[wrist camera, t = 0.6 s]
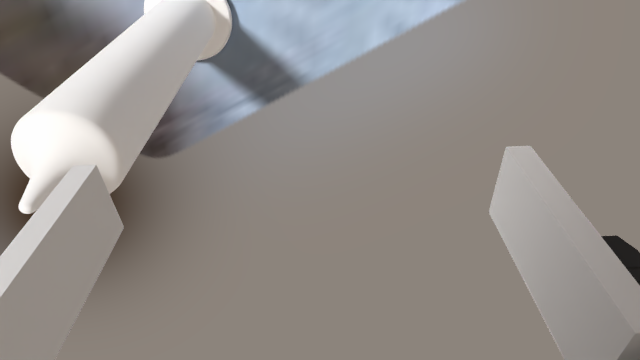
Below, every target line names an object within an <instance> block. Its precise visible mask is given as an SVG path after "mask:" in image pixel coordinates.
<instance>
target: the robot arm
mask: <svg viewBox="0 0 640 360" xmlns="http://www.w3.org/2000/svg"><path fill="white" fill-rule="evenodd" d="M489 214H490V216H491V217H492V220H493V221H494V223H495V225H496V227H497V229H498V231H499V233H500V235H501V237H502V239H503V241H504V243H505V245H506V247H507V249H508V251H509V253H510V255H511V257H512V259H513V261H514V263H515V264H516V266H517V268H518V270H519V272H520V274H521V276H522V278H523V280H524V282H525V284H526V286H527V288H528V290H529V292H530V294H531V296H532V298H533V300H534V302H535V304H536V305H537V307H538V309H539V311H540V313H541V315H542V317H543V319H544V321H545V323H546V325H547V327H548V329H549V331H550V333H551V335H552V337H553V339H554V341H555V343H556V344H557V346H558V348H559V350H560V352H561V354H562V356H563V358H564V360H640V253H639V252H638V250H636V249H635V248H634V247H632V246H631V245H629V244H628V243H626V242H625V241H624V240H622V239H621V238H619V237H618V236H601V235H600V234H599V233H598V232H597V230H596V229H595V228H594V227H593V225H592V224H591V223H590V221H589V220H588V219H587V218H586V216H585V215H584V214H583V212H582V211H581V210H580V209H579V207H578V206H577V205H576V204H575V202H574V201H573V200H572V198H571V197H570V196H569V195H568V193H567V192H566V191H565V189H564V188H563V187H562V186H561V184H560V183H559V182H558V181H557V179H556V178H555V177H554V175H553V174H552V173H551V172H550V170H549V169H548V168H547V166H546V165H545V164H544V163H543V161H542V160H541V159H540V158H539V156H538V155H537V154H536V152H535V151H534V150H533V149H532V147H531V146H514V147H506V149H505V153H504V157H503V160H502V164H501V168H500V172H499V175H498V179H497V183H496V187H495V190H494V194H493V198H492V202H491V205H490V209H489ZM123 228H124V226H123V224H122V222H121V219H120V217H119V215H118V213H117V210H116V208H115V206H114V204H113V201H112V199H111V197H110V194H109V192H108V190H107V188H106V185H105V183H104V181H103V179H102V176H101V174H100V172H99V170H98V167H97V165H77V166H72V167H71V168H70V170H69V171H68V172H67V173H66V175H65V176H64V177H63V178H62V180H61V181H60V182H59V183H58V185H57V186H56V187H55V188H54V190H53V191H52V192H51V193H50V195H49V196H48V197H47V199H46V200H45V201H44V202H43V204H42V205H41V206H40V207H39V209H38V210H37V211H36V212H35V214H34V215H33V216H32V217H31V219H30V220H29V221H28V222H27V224H26V225H25V226H24V227H23V229H22V230H21V231H20V232H19V234H18V235H17V236H16V237H15V239H14V240H13V241H12V242H11V244H10V245H9V246H8V247H7V249H6V250H5V251H4V252H3V254H2V255H1V256H0V360H55V359H56V357H57V355H58V353H59V351H60V349H61V347H62V345H63V343H64V341H65V339H66V338H67V336H68V334H69V332H70V330H71V328H72V326H73V324H74V322H75V320H76V318H77V317H78V315H79V313H80V311H81V309H82V307H83V305H84V303H85V301H86V299H87V297H88V295H89V294H90V292H91V290H92V288H93V286H94V284H95V282H96V280H97V278H98V276H99V274H100V272H101V271H102V269H103V267H104V265H105V262H106V261H107V259H108V257H109V255H110V253H111V251H112V249H113V247H114V245H115V244H116V242H117V240H118V238H119V236H120V234H121V232H122V230H123Z"/></svg>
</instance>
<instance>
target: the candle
mask: <svg viewBox="0 0 640 360" xmlns="http://www.w3.org/2000/svg"><path fill="white" fill-rule="evenodd" d="M231 30H232V15H231V10H230V7H229V4H228V2H227V0H145V2H144V15H143V16H142V17H141V18H140V19H138V20H137V21H136V22H135V23H134V24H133V25H131V26H130V27H129V28H128V29H127V30H125V31H124V32H123V33H122V34H121V35H119V36H118V37H117V38H116V39H115V40H113V41H112V42H111V43H110V44H109V45H108V46H106V47H105V48H104V49H103V50H102V51H100V52H99V53H98V54H97V55H96V56H94V57H93V58H92V59H91V60H90V61H88V62H87V63H86V64H85V65H84V66H83V67H81V68H80V69H79V70H78V71H77V72H75V73H74V74H73V75H72V76H71V77H69V78H68V79H67V80H66V81H65V82H63V83H62V84H61V85H60V86H59V87H58V88H56V89H55V90H54V91H53V92H52V93H50V94H49V95H48V96H47V97H46V98H44V99H43V100H42V101H41V102H40V103H39V104H37V105H36V106H35V107H34V108H33V109H31V110H30V111H29V112H28V113H27V114H25V115H24V116H23V117H22V118H21V119H20V120H19V121H18V122H17V124H16V126H15V127H14V129H13V132H12V135H11V147H12V152H13V154H14V157H15V159H16V162H17V163H18V165H19V167H20V168H21V169H22V170H23V172H24V173H25V174H26V175H27V176H28V177H29V178H30V181H29V183H28V185H27V187H26V190H25V192H24V194H23V197H22V199H21V201H20V203H19V210H20V211H21V212H23V213H26V214H30V213H33V212H34V211H36V210H37V209H39V207H40V206H41V205H42V204H43V202H44V201H45V200H46V199H47V197H48V196H49V195H50V193H51V192H52V191H53V190H54V188H55V187H56V186H57V185H58V183H59V182H60V181H61V180H62V178H63V177H64V176H65V175H66V173H67V172H68V171H69V170H70V168H71V167H72V166H77V165H97V167H98V170H99V172H100V174H101V176H102V179H103V181H104V183H105V185H106V188H107V190H108V192H109V194H110V193H111V192H113V191H114V190H115V189H116V188H117V187H118V186H119V185H120V184H121V182H122V181H123V179H124V178H125V176H126V174H127V173H128V171H129V170H130V168H131V166H132V165H133V163H134V161H135V160H136V158H137V156H138V155H139V153H140V152H141V150H142V149H143V147H144V145H145V144H146V142H147V140H148V139H149V137H150V136H151V134H152V132H153V131H154V129H155V127H156V126H157V124H158V123H159V121H160V119H161V118H162V116H163V115H164V113H165V111H166V110H167V108H168V106H169V105H170V103H171V102H172V100H173V98H174V97H175V95H176V93H177V92H178V90H179V89H180V87H181V85H182V84H183V82H184V80H185V79H186V77H187V76H188V74H189V72H190V71H191V69H192V68H193V66H194V64H195V63H196V61H197V60H204V59H207V58H210V57H212V56H214V55H216V54H217V53H219V52H220V51H221V50H222V49H223V48H224V46H225V45H226V43H227V41H228V39H229V37H230V34H231Z"/></svg>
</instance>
